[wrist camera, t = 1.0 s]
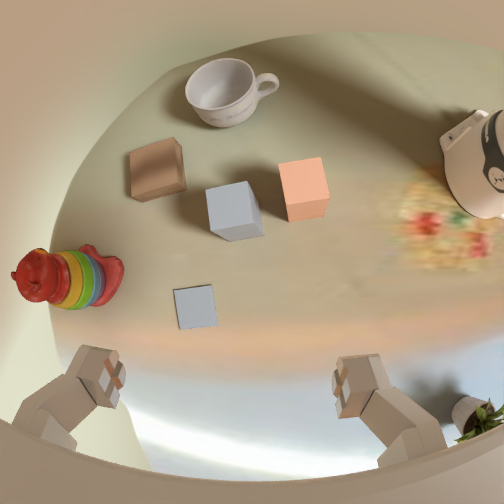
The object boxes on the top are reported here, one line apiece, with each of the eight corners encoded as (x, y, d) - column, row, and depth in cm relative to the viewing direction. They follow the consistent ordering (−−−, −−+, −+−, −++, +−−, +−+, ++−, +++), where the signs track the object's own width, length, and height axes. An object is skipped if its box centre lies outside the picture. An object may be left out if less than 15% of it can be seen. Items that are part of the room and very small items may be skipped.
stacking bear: (127, 261, 46) (51, 251, 28) (112, 317, 45) (35, 329, 28) (84, 241, 48) (10, 226, 30) (71, 293, 47) (-3, 294, 30)
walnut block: (140, 160, 48) (129, 152, 44) (182, 147, 46) (173, 136, 43) (143, 202, 47) (131, 196, 43) (187, 190, 46) (177, 182, 42)
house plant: (464, 351, 36) (523, 376, 20) (505, 378, 33) (559, 403, 17) (416, 425, 36) (455, 476, 20) (463, 445, 33) (503, 487, 17)
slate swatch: (175, 290, 44) (174, 290, 44) (212, 285, 43) (211, 285, 43) (181, 329, 43) (180, 329, 43) (218, 325, 42) (217, 325, 42)
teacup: (194, 134, 46) (176, 111, 38) (206, 84, 47) (193, 57, 39) (277, 137, 44) (273, 110, 36) (284, 84, 45) (280, 55, 37)
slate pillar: (225, 209, 44) (205, 189, 34) (258, 202, 43) (247, 180, 33) (230, 241, 43) (210, 230, 34) (264, 235, 43) (253, 222, 33)
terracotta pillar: (282, 189, 43) (278, 164, 33) (316, 183, 42) (320, 157, 32) (289, 222, 42) (286, 205, 32) (323, 216, 42) (330, 197, 32)
